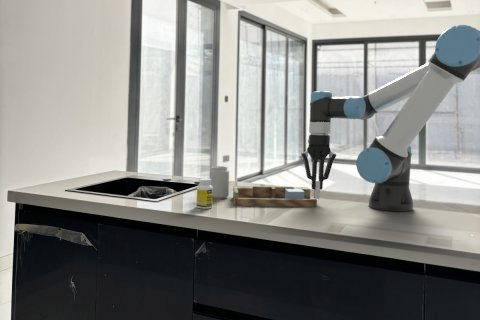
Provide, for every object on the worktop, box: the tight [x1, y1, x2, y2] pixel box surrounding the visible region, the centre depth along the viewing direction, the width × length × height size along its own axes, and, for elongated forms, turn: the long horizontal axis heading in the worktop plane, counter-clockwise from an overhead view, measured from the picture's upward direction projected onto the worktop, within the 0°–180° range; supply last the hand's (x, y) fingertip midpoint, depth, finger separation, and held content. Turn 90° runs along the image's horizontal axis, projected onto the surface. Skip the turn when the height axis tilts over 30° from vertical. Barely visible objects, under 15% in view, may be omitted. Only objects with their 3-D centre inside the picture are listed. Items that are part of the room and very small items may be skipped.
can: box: [209, 165, 230, 200], centre depth 162 cm, size 8×8×12 cm
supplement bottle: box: [196, 177, 214, 210], centre depth 143 cm, size 5×5×10 cm
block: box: [285, 189, 305, 199], centre depth 155 cm, size 6×6×5 cm
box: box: [232, 185, 318, 208], centre depth 156 cm, size 29×16×4 cm, turn 93°
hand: (316, 198), depth 155 cm, fingers closed
